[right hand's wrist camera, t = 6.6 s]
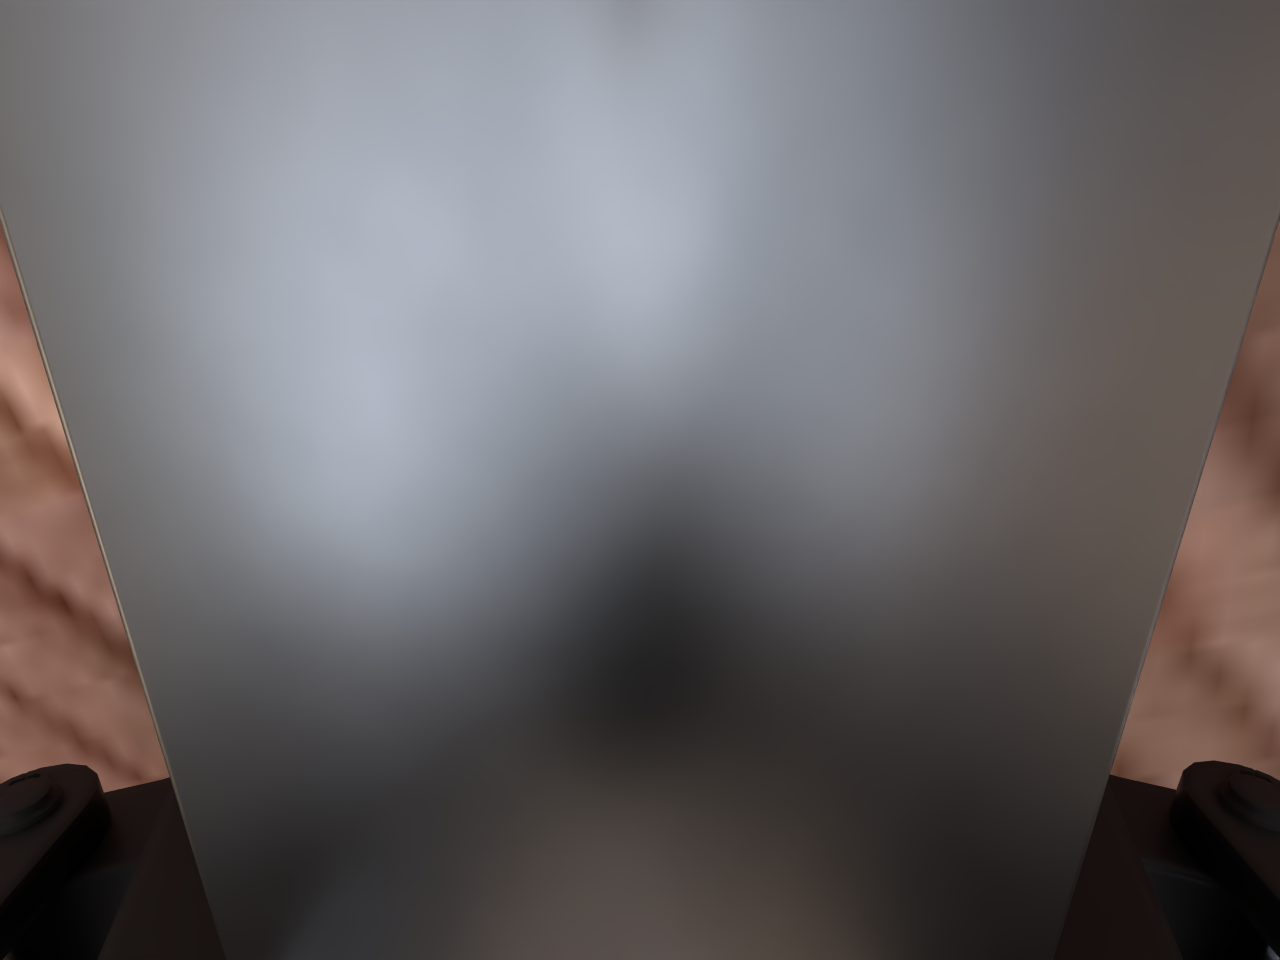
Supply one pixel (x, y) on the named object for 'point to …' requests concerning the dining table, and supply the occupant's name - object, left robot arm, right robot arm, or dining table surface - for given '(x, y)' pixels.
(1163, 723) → the dining table surface
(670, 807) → the box
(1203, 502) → the dining table surface
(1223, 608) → the dining table surface
